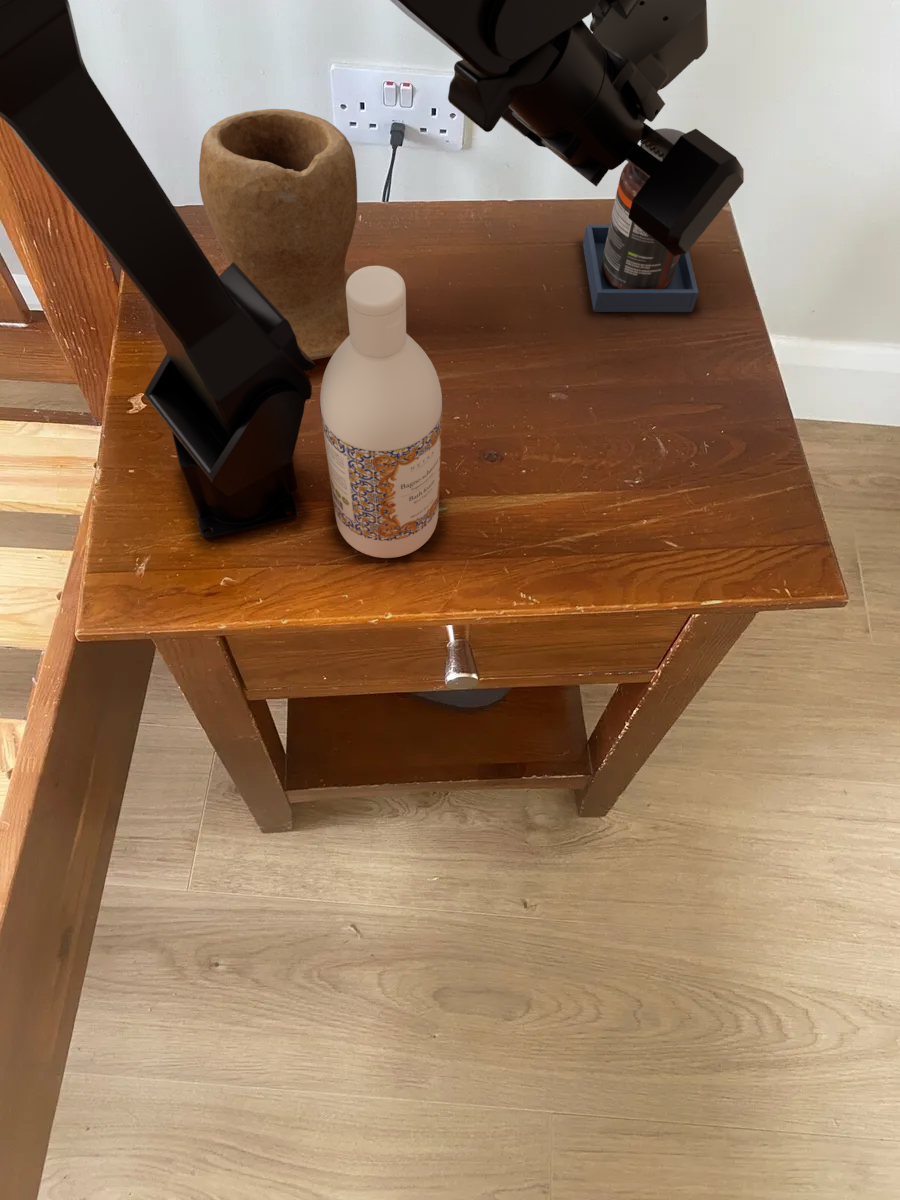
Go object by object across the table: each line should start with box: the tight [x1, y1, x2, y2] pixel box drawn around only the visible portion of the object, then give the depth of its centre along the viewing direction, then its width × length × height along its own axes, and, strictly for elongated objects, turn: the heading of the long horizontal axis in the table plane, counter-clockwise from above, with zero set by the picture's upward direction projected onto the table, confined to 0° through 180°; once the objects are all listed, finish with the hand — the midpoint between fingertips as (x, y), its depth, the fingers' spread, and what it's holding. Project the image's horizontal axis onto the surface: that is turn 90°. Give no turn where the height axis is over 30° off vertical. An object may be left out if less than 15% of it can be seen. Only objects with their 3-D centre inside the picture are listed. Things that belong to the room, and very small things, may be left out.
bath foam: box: [319, 265, 444, 559], centre depth 52 cm, size 7×7×20 cm
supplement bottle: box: [602, 127, 687, 289], centre depth 67 cm, size 6×6×11 cm
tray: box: [582, 224, 699, 313], centre depth 72 cm, size 8×8×2 cm
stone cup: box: [198, 108, 358, 361], centre depth 62 cm, size 15×12×15 cm
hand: (651, 184), depth 65 cm, fingers open, 9 cm apart
